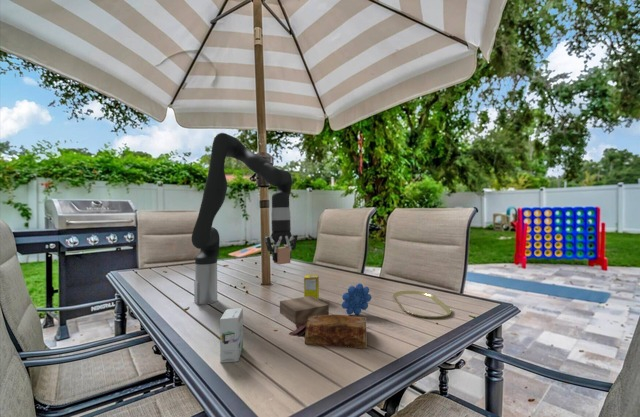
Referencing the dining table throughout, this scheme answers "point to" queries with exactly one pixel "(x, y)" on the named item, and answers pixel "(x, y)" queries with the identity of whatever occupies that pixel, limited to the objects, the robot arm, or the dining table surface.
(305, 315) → the walnut block
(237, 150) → the robot arm
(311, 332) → the cured meat
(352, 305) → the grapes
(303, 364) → the dining table surface
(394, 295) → the yellow oval ring
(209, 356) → the dining table surface
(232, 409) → the dining table surface
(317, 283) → the supplement box
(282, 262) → the terracotta block
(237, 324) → the ink box
